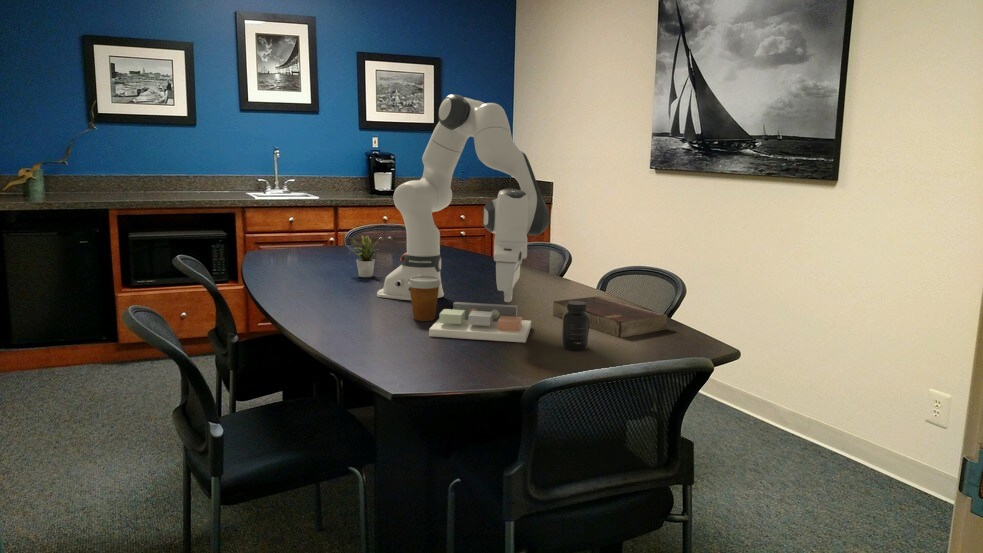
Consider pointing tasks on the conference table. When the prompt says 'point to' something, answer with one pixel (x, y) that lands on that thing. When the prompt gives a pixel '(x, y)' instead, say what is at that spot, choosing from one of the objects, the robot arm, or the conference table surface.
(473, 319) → the grey key
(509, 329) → the terracotta key
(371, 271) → the house plant
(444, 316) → the sage key
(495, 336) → the keypad
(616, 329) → the hardback book
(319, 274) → the conference table surface
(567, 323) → the supplement bottle
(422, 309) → the disposable coffee cup
